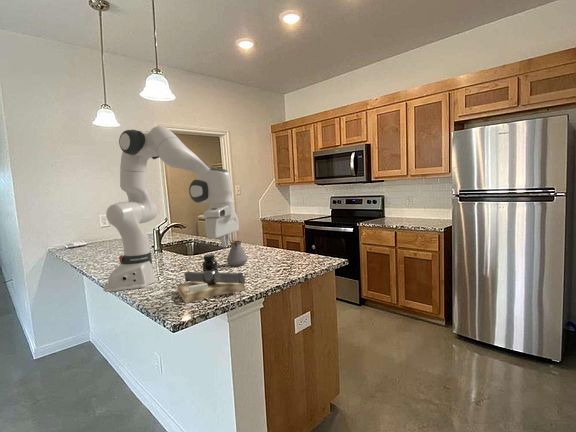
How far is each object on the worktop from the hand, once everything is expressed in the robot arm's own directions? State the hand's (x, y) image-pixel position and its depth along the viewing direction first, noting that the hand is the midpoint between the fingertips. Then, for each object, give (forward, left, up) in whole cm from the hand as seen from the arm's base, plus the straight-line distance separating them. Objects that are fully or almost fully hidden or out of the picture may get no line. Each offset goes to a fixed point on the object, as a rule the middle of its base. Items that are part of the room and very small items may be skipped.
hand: (225, 246), depth 126 cm
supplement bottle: (0, +26, -20) cm, 33 cm away
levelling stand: (-4, +11, -20) cm, 23 cm away
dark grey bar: (-3, +10, -17) cm, 20 cm away
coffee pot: (+19, +44, -20) cm, 52 cm away
